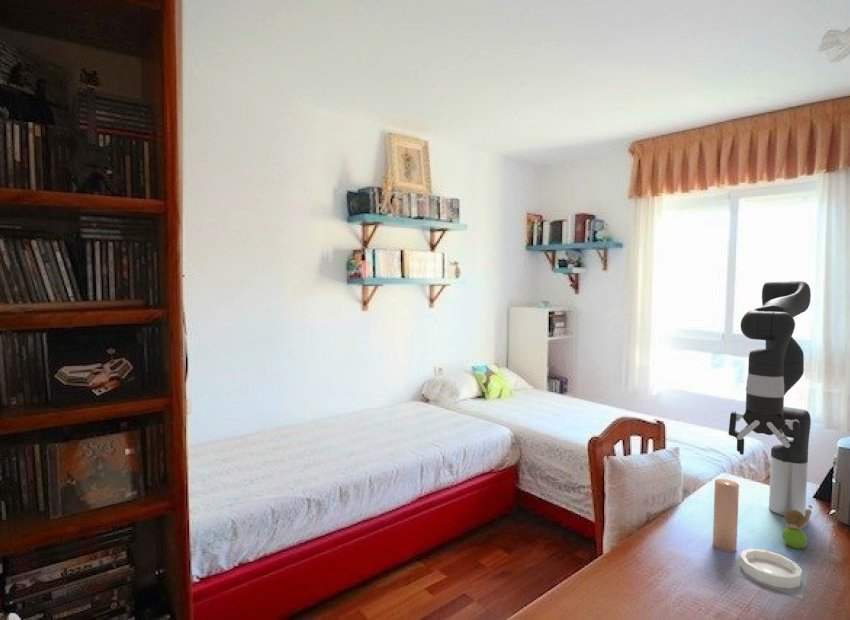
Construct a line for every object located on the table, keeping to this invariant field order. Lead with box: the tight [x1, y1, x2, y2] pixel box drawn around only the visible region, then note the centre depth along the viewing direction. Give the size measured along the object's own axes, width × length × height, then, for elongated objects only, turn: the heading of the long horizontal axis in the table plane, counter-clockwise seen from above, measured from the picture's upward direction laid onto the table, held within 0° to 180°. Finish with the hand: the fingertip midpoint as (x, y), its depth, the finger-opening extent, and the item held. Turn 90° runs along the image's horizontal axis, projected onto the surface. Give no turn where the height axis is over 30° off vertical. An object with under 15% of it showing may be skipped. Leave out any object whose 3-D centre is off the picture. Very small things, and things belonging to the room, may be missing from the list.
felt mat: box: [730, 553, 810, 600], centre depth 117 cm, size 14×14×1 cm
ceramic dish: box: [739, 548, 803, 589], centre depth 117 cm, size 12×12×3 cm
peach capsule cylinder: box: [712, 478, 740, 553], centre depth 129 cm, size 6×6×18 cm
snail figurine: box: [781, 504, 813, 550], centre depth 129 cm, size 5×6×12 cm
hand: (762, 457), depth 117 cm, fingers open, 8 cm apart
